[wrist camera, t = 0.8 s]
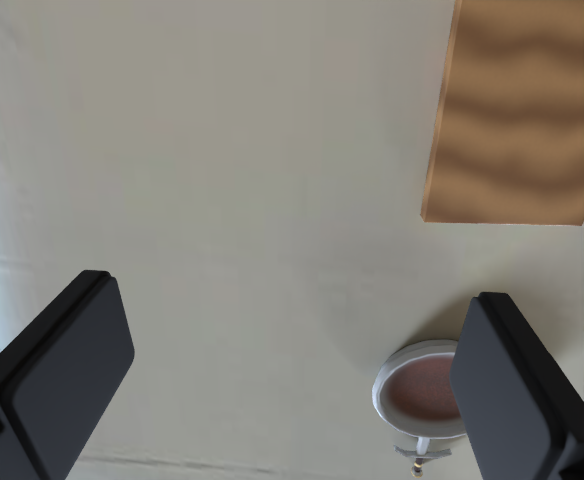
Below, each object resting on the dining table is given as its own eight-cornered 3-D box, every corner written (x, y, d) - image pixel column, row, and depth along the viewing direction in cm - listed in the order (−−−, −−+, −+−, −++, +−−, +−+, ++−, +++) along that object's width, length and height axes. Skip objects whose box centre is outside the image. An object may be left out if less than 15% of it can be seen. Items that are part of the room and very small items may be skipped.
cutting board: (462, -46, 29) (470, -51, 28) (672, -52, 28) (692, -57, 27) (420, 215, 40) (424, 222, 38) (571, 218, 39) (581, 226, 37)
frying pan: (361, 480, 59) (379, 348, 45) (360, 461, 62) (376, 331, 48) (475, 488, 58) (529, 355, 44) (469, 469, 60) (518, 337, 46)
